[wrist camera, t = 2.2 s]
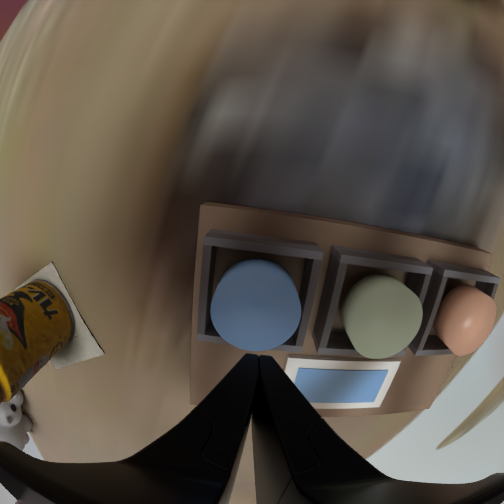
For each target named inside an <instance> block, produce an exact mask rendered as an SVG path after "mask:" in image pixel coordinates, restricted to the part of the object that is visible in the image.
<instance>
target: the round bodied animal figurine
mask: <svg viewBox="0 0 504 504" xmlns="http://www.w3.org/2000/svg"><path fill="white" fill-rule="evenodd" d="M22 403H23V394H22V392H21V390H20V391H19V392H18V393H17V394H16V395H15V396H14V397H13V398H12V399H11V400H10V401H8V402H1V404H0V441H5V442H8V443H10V444H12V445H14V446H15V447H17V448H18V449H20V450H21V451H22V450H23V449H24V446H25V445H26V444H27V443H28V441H29V436H28V434H27V433H26V432H29V431H30V430H31V429H32V422H31V420H30V418H29V417H28V416H26V415H24V414H22V411H21V404H22Z"/></svg>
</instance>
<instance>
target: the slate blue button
mask: <svg viewBox="0 0 504 504" xmlns="http://www.w3.org/2000/svg"><path fill="white" fill-rule="evenodd" d="M300 318H301V304H300V300H299V297H298V294H297V290H296V287H295V284H294V281H293V279H292V277H291V275H290V274H289V273H288V271H287V270H286V269H285V268H284V267H282V266H281V265H280V264H278V263H276V262H274V261H272V260H269V259H265V258H248V259H244V260H241V261H239V262H236V263H235V264H233V265H232V266H230V267H229V268H228V269H227V270H226V271H225V272H224V274H223V275H222V277H221V279H220V281H219V283H218V286H217V288H216V291H215V293H214V296H213V299H212V302H211V319H212V322H213V325H214V327H215V329H216V331H217V332H218V333H219V335H220V336H221V337H222V338H223V339H224V340H225V341H227V342H228V343H229V344H231V345H233V346H235V347H237V348H240V349H243V350H248V351H264V350H269V349H272V348H275V347H277V346H279V345H281V344H283V343H284V342H286V341H287V340H288V339H289V338H290V337H291V336H292V335H293V334H294V332H295V331H296V329H297V327H298V325H299V322H300Z"/></svg>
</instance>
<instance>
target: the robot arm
mask: <svg viewBox="0 0 504 504" xmlns="http://www.w3.org/2000/svg"><path fill="white" fill-rule="evenodd" d="M251 415H252V417H251ZM250 419H251V422H252V440H253V456H254V471H255V486H256V501H257V504H501V503H502V502H503V501H504V473H496V474H493V475H491V476H489V477H487V478H485V479H483V480H480V481H477V482H473V483H466V484H437V483H422V482H411V481H403V480H397V479H393V478H391V477H388V476H386V475H385V474H383V473H381V472H380V471H379V470H377V469H376V468H375V467H374V466H373V465H371V464H370V463H369V462H368V461H366V460H365V459H364V458H363V457H362V456H361V455H359V454H358V453H357V452H356V451H355V450H354V449H352V448H351V447H350V446H349V445H348V444H347V443H346V442H345V441H344V440H343V439H342V438H340V437H339V436H338V435H337V433H336V432H335V431H334V430H333V429H332V428H331V427H330V426H329V425H328V424H327V422H326V421H325V420H324V419H323V418H322V417H321V415H320V414H319V413H318V412H317V411H316V410H315V408H314V407H313V406H312V405H311V404H310V402H309V401H308V400H307V399H306V398H305V396H304V395H303V394H302V393H301V391H300V390H299V389H298V388H297V387H296V385H295V384H294V383H293V382H292V380H291V379H290V378H289V377H288V375H287V374H286V373H285V372H284V370H283V369H282V368H281V367H280V365H279V364H278V363H277V362H276V360H275V359H274V358H273V357H272V356H269V355H259V356H258V355H257V354H251V353H245V354H244V355H243V357H242V358H241V359H240V360H239V361H238V362H237V363H236V364H235V365H234V367H233V368H232V369H231V370H230V371H229V372H228V373H227V374H226V375H225V376H224V378H223V379H222V380H221V381H220V382H219V383H218V384H217V385H216V386H215V387H214V388H213V389H212V390H211V391H210V393H209V394H208V395H207V396H206V397H205V398H204V399H203V400H202V401H201V402H200V403H199V404H198V405H197V407H195V408H194V409H193V410H192V411H191V412H190V413H189V414H188V415H187V416H186V417H185V418H184V419H183V420H182V421H181V422H179V423H178V424H177V425H176V426H174V427H173V428H172V429H170V430H169V431H168V432H167V433H165V434H164V435H162V436H161V437H159V438H158V439H157V440H155V441H154V442H152V443H151V444H149V445H148V446H146V447H145V448H143V449H142V450H140V451H139V452H137V453H136V454H134V455H132V456H130V457H128V458H126V459H123V460H120V461H116V462H101V463H55V462H48V461H43V460H40V459H37V458H34V457H32V456H30V455H28V454H26V453H25V452H23V451H21V450H20V449H18V448H17V447H15V446H14V445H12V444H10V443H8V442H5V441H0V483H1V484H2V485H3V486H4V487H5V488H6V489H7V490H8V491H9V492H10V493H11V494H12V495H13V496H14V497H15V498H16V499H17V502H16V503H15V504H228V503H229V500H230V496H231V493H232V489H233V485H234V482H235V478H236V475H237V471H238V467H239V463H240V460H241V456H242V452H243V448H244V444H245V440H246V436H247V432H248V428H249V424H250Z"/></svg>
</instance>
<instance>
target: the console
mask: <svg viewBox="0 0 504 504" xmlns="http://www.w3.org/2000/svg"><path fill="white" fill-rule="evenodd" d="M492 255H493V254H491V253H489V252H487V251H484V250H482V249H479V248H477V247H473V246H469V245H464V244H460V243H455V242H451V241H446V240H442V239H437V238H432V237H427V236H423V235H418V234H413V233H408V232H403V231H397V230H392V229H387V228H381V227H376V226H371V225H365V224H359V223H353V222H348V221H342V220H336V219H329V218H323V217H317V216H310V215H304V214H297V213H290V212H283V211H276V210H269V209H262V208H254V207H246V206H238V205H230V204H222V203H213V202H206V203H204V204H201V205H200V215H199V226H198V237H197V249H196V262H195V276H194V292H193V310H192V332H191V365H190V404H193V405H198V404H199V403H200V402H201V401H202V400H203V399H204V398H205V397H206V396H207V395H208V394H209V393H210V391H211V390H212V389H213V388H214V387H215V386H216V385H217V384H218V383H219V382H220V381H221V380H222V379H223V378H224V376H225V375H226V374H227V373H228V372H229V371H230V370H231V369H232V368H233V367H234V365H235V364H236V363H237V362H238V361H239V360H240V359H241V358H242V357H243V355H244V354H245V353H251V354H257V355H258V356H259V355H269V356H272V357H273V358H274V359H275V360H276V362H277V363H278V364H279V365H280V367H281V368H282V369H283V370H284V372H285V373H286V374H287V375H288V377H289V378H290V379H291V380H292V382H293V383H294V384H295V385H296V387H297V388H298V389H299V390H300V391H301V393H302V394H303V395H304V396H305V398H306V399H307V400H308V401H309V402H310V404H311V405H312V406H313V407H314V408H315V410H316V411H317V412H318V413H319V414H320V415H321V417H341V416H366V415H380V414H391V413H401V412H409V411H417V410H424V409H429V408H430V406H431V405H432V403H433V401H434V400H435V398H436V396H437V394H438V393H439V391H440V389H441V387H442V385H443V383H444V382H445V380H446V378H447V376H448V374H449V372H450V370H451V368H452V366H453V364H454V362H455V360H456V357H457V355H456V354H454V353H453V352H452V351H451V350H450V349H449V348H448V347H447V346H446V345H445V343H444V342H443V341H442V340H441V339H440V338H439V337H438V336H437V335H436V333H435V329H434V320H435V316H436V313H437V310H438V307H439V305H440V303H441V302H442V300H443V299H444V297H445V296H446V295H447V294H448V293H449V292H450V291H451V290H452V289H454V288H455V287H457V286H459V285H462V284H470V285H472V286H474V287H475V288H477V289H479V290H480V291H482V292H483V293H485V294H486V295H488V296H490V297H491V298H492V299H494V296H495V293H496V290H497V287H498V283H499V280H500V278H499V277H497V276H495V275H493V274H491V273H490V272H488V270H489V266H490V263H491V259H492ZM248 258H265V259H269V260H272V261H274V262H276V263H278V264H280V265H281V266H282V267H284V268H285V269H286V270H287V271H288V273H289V274H290V275H291V277H292V279H293V281H294V284H295V287H296V290H297V294H298V297H299V300H300V304H301V318H300V322H299V325H298V327H297V329H296V331H295V332H294V334H293V335H292V336H291V337H290V338H289V339H288V340H287V341H286V342H284V343H283V344H281V345H279V346H277V347H275V348H272V349H269V350H264V351H248V350H243V349H240V348H237V347H235V346H233V345H231V344H229V343H228V342H227V341H225V340H224V339H223V338H222V337H221V336H220V335H219V333H218V332H217V331H216V329H215V327H214V325H213V322H212V319H211V302H212V299H213V296H214V293H215V291H216V288H217V286H218V283H219V281H220V279H221V277H222V275H223V274H224V272H225V271H226V270H227V269H228V268H229V267H230V266H232V265H233V264H235V263H236V262H239V261H241V260H244V259H248ZM380 273H381V274H388V275H391V276H393V277H395V278H396V279H398V280H399V281H400V282H401V283H403V284H404V285H405V286H406V287H407V288H409V289H410V290H411V291H412V292H413V293H415V294H416V295H417V297H418V298H419V300H420V302H421V305H422V310H423V316H422V322H421V326H420V328H419V330H418V332H417V334H416V336H415V337H414V339H413V340H412V341H411V342H410V344H409V345H408V346H407V347H405V348H404V349H403V350H402V351H400V352H399V353H397V354H395V355H393V356H390V357H387V358H383V359H371V358H367V357H364V356H363V355H361V354H360V353H358V352H357V350H356V349H355V348H354V346H353V344H352V342H351V340H350V338H349V336H348V334H347V332H346V330H345V329H344V327H343V324H342V321H341V306H342V303H343V300H344V298H345V296H346V294H347V293H348V291H349V290H350V289H351V288H352V287H353V286H354V285H355V284H356V283H357V282H358V281H360V280H361V279H363V278H365V277H367V276H370V275H373V274H380Z"/></svg>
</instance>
